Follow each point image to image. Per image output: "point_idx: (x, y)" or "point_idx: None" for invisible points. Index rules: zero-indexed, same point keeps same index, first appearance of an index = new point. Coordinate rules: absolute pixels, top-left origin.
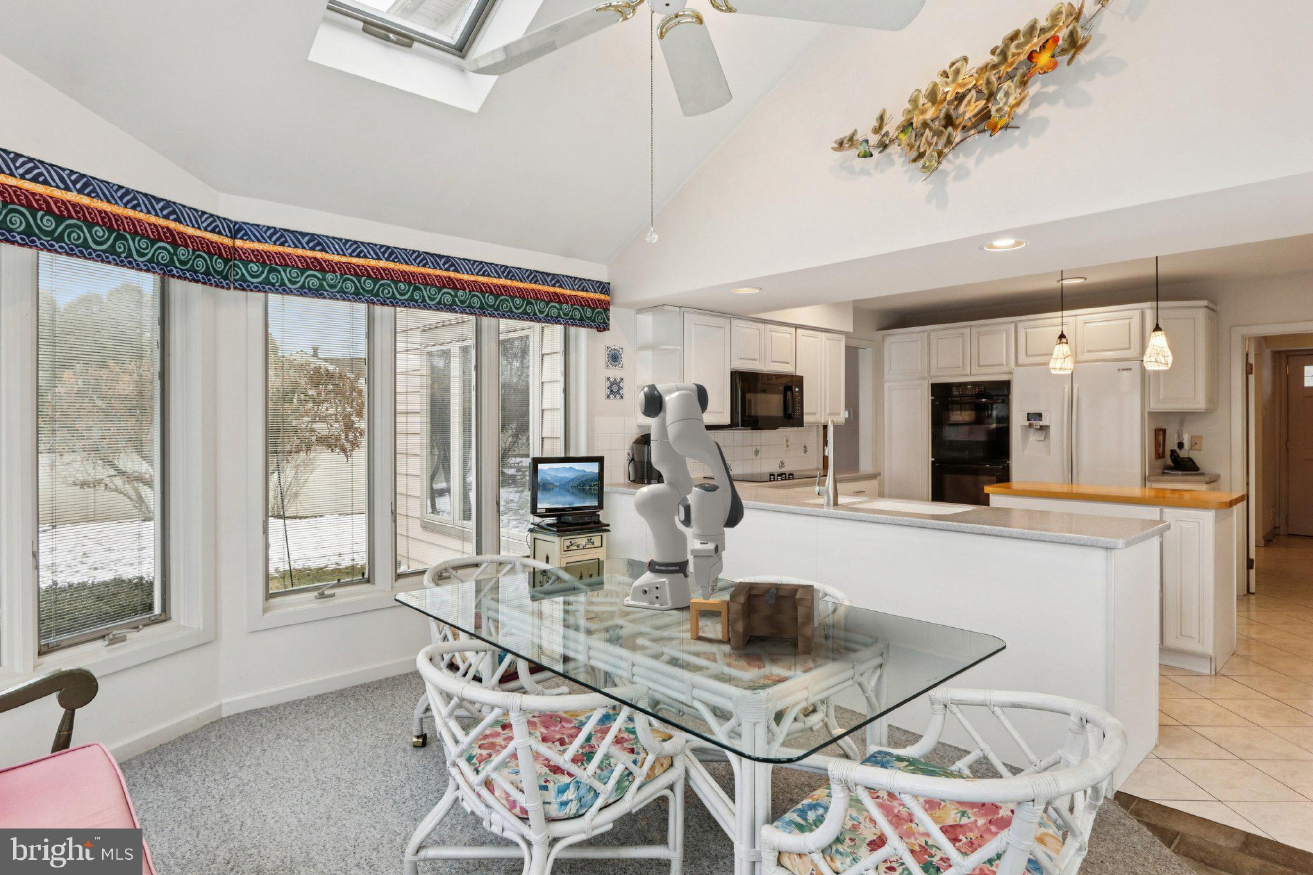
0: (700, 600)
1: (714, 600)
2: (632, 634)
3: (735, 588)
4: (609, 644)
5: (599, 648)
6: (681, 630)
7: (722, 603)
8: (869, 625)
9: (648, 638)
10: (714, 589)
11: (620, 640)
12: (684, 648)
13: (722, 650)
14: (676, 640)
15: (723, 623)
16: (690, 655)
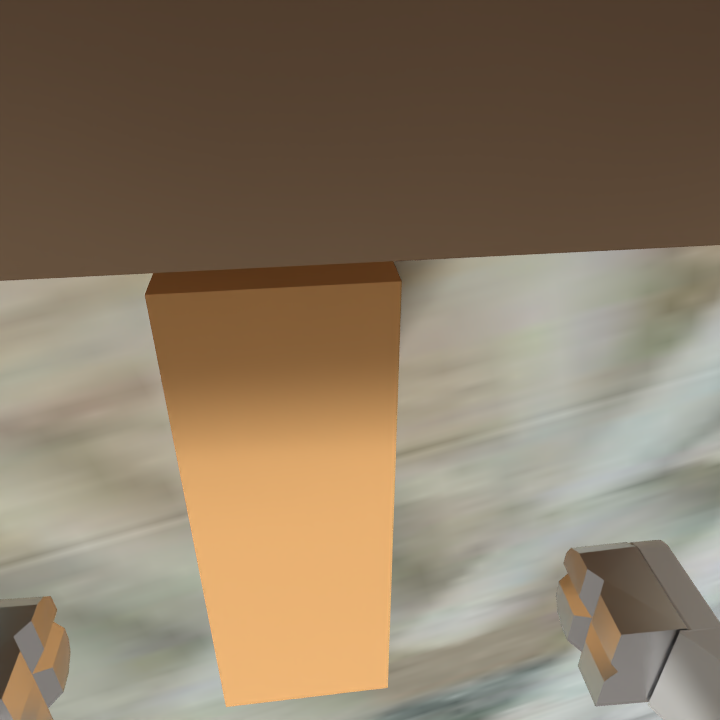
0: (301, 626)
1: (246, 494)
2: None
3: (448, 217)
4: (527, 702)
5: (589, 708)
6: (164, 525)
7: (397, 349)
8: None
9: (396, 614)
10: (30, 655)
11: (457, 692)
12: (568, 396)
13: None
14: (402, 485)
15: None
16: (717, 322)
